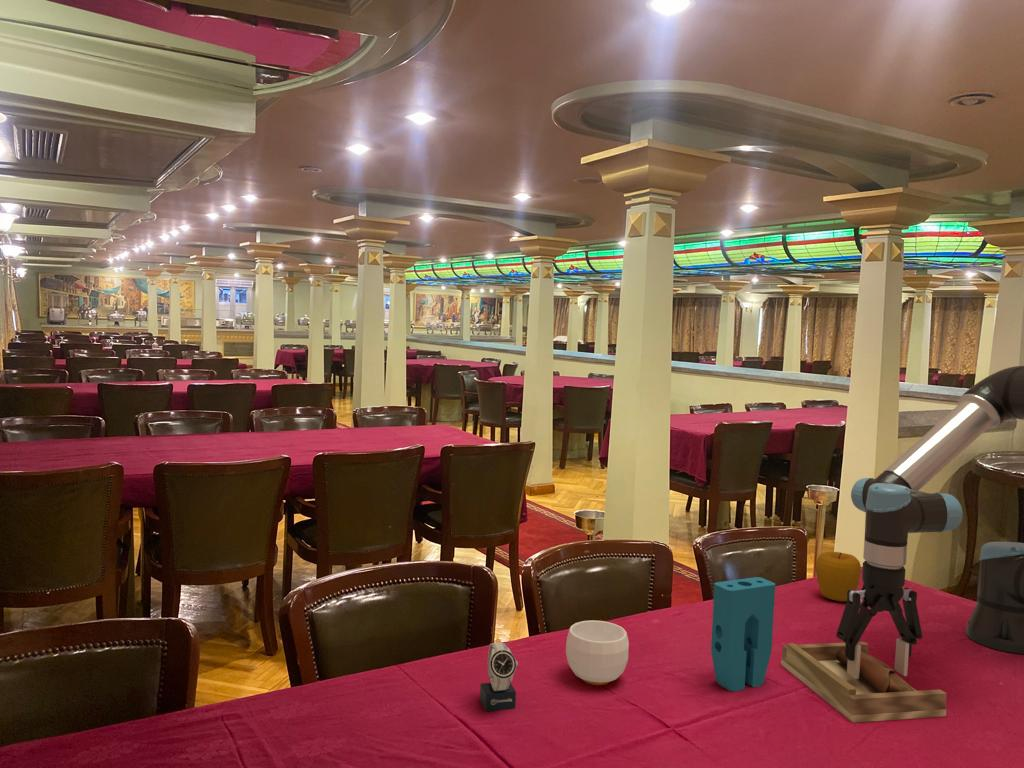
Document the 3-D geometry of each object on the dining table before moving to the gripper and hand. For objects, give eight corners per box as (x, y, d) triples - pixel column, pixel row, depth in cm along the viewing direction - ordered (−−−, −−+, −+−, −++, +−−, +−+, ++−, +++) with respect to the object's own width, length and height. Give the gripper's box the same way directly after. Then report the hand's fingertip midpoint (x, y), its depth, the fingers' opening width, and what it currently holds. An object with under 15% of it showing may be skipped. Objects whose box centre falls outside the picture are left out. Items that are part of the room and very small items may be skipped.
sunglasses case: (928, 700, 140) (913, 670, 139) (896, 720, 139) (880, 690, 139) (873, 659, 157) (859, 633, 157) (844, 676, 157) (830, 650, 156)
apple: (819, 604, 195) (822, 556, 194) (810, 591, 206) (812, 544, 205) (864, 608, 193) (867, 559, 193) (852, 594, 204) (855, 548, 203)
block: (754, 672, 153) (759, 576, 152) (772, 683, 149) (777, 584, 147) (707, 682, 148) (712, 583, 147) (724, 693, 144) (729, 591, 142)
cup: (639, 679, 148) (642, 631, 148) (602, 700, 139) (605, 649, 139) (589, 659, 157) (591, 614, 156) (552, 678, 148) (553, 630, 147)
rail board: (862, 660, 161) (863, 636, 161) (945, 716, 137) (947, 688, 137) (781, 664, 158) (782, 640, 157) (852, 722, 134) (854, 694, 134)
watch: (488, 717, 132) (490, 655, 131) (477, 695, 139) (479, 637, 139) (518, 713, 133) (520, 653, 133) (506, 692, 141) (508, 635, 140)
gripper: (921, 556, 152) (913, 663, 154) (820, 558, 148) (814, 668, 150) (948, 567, 145) (941, 680, 146) (844, 570, 141) (837, 686, 142)
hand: (876, 674), depth 148 cm, fingers open, 10 cm apart
